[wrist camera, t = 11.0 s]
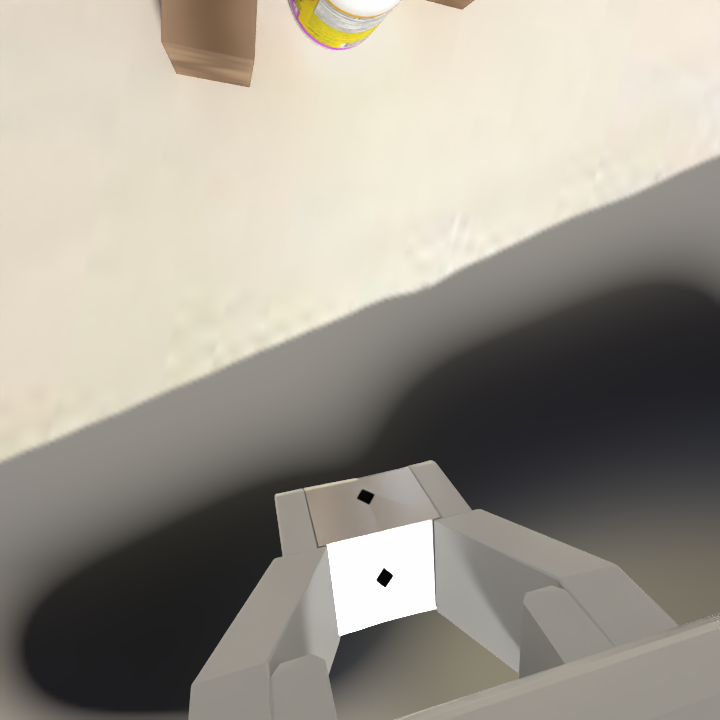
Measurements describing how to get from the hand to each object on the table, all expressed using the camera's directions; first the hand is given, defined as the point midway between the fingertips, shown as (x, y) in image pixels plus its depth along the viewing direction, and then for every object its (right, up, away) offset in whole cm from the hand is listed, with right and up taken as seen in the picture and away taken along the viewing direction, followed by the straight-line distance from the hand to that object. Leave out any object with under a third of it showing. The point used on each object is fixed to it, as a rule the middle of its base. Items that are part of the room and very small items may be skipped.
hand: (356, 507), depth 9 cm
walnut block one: (-10, +25, +25) cm, 37 cm away
